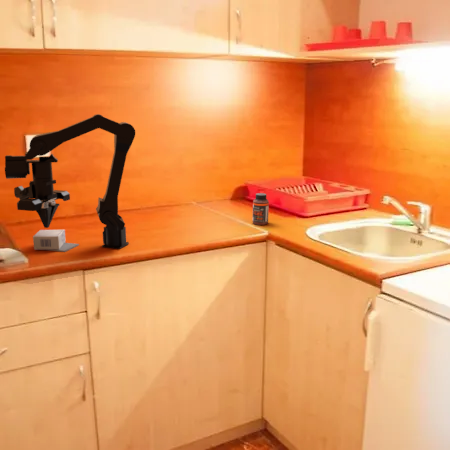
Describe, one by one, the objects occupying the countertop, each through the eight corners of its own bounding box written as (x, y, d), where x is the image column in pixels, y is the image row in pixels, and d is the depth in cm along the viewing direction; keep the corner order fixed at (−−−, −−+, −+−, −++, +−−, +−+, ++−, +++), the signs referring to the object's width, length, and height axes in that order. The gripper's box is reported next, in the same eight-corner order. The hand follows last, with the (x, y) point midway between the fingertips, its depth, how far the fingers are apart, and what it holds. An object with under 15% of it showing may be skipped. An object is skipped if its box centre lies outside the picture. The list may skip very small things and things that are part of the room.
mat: (79, 245, 174) (79, 244, 174) (64, 252, 167) (64, 250, 167) (55, 242, 177) (55, 241, 177) (40, 249, 170) (39, 248, 170)
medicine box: (59, 249, 168) (66, 242, 176) (58, 235, 167) (65, 229, 175) (33, 250, 168) (41, 242, 176) (32, 236, 167) (40, 229, 175)
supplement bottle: (250, 224, 202) (251, 194, 199) (254, 221, 207) (255, 192, 205) (266, 225, 200) (266, 195, 197) (269, 222, 206) (270, 193, 203)
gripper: (39, 171, 174) (42, 219, 177) (-1, 180, 156) (4, 232, 160) (69, 173, 170) (72, 221, 174) (31, 182, 153) (36, 235, 157)
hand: (46, 227), depth 166 cm, fingers closed
